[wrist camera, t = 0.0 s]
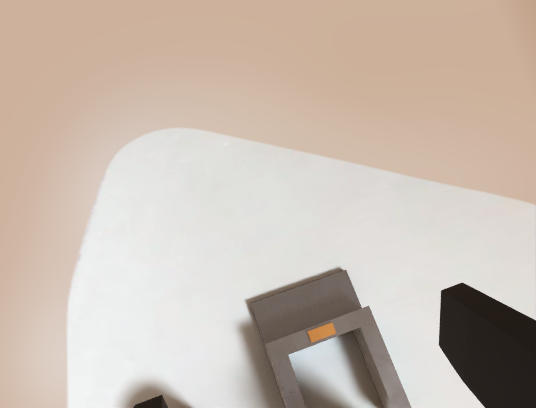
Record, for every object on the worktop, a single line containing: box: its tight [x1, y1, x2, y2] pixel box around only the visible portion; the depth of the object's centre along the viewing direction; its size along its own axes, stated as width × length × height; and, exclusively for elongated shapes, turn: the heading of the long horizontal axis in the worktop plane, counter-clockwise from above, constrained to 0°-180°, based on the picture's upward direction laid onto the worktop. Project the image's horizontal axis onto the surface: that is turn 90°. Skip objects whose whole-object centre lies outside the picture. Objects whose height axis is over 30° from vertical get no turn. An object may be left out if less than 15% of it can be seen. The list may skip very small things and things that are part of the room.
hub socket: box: [251, 270, 411, 408], centre depth 40 cm, size 14×10×3 cm
